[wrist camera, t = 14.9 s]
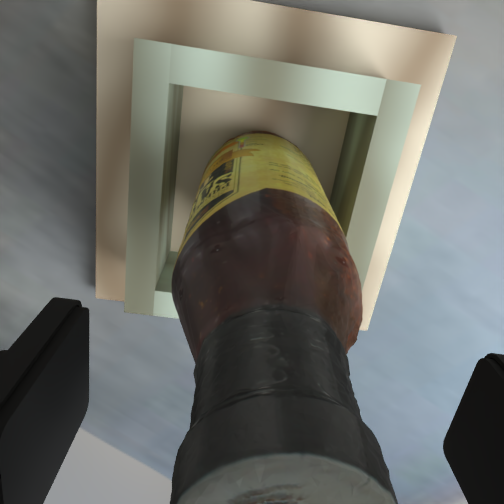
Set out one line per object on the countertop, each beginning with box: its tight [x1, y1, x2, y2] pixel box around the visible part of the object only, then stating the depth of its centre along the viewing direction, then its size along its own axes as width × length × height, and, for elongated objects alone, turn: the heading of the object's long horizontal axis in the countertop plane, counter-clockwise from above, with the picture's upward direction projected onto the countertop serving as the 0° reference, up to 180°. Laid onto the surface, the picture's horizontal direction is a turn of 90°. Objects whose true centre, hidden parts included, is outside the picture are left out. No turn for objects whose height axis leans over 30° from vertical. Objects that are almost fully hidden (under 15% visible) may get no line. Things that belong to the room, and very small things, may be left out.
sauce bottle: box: [170, 131, 398, 504], centre depth 16 cm, size 6×6×20 cm
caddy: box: [96, 0, 457, 331], centre depth 23 cm, size 18×18×6 cm
